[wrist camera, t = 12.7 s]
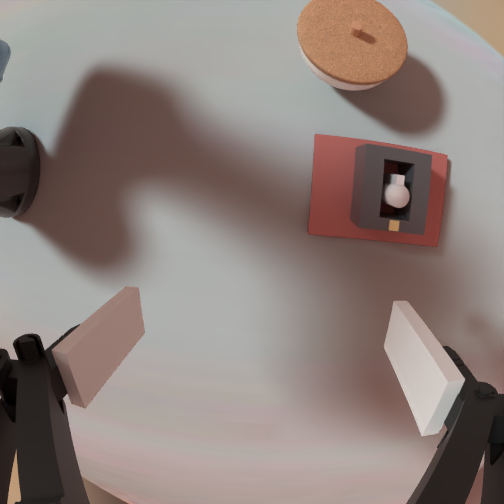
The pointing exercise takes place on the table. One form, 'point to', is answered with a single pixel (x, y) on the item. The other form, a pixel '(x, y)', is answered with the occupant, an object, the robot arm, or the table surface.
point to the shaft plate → (342, 188)
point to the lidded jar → (351, 42)
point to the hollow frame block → (370, 189)
